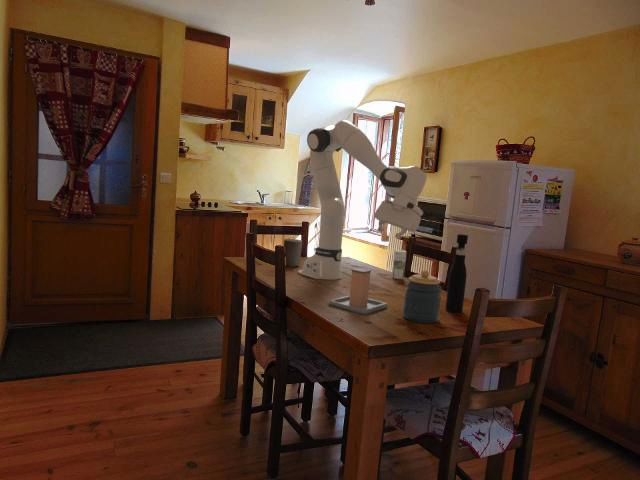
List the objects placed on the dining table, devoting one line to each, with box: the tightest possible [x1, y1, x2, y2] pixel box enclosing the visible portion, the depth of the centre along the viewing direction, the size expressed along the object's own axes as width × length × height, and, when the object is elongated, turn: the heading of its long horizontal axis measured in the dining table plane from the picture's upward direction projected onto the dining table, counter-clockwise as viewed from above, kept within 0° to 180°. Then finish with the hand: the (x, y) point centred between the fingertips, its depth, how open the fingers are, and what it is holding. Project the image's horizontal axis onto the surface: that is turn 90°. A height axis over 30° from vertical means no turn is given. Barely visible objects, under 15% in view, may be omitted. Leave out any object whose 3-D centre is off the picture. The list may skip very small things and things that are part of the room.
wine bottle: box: [445, 233, 469, 314], centre depth 184 cm, size 6×6×30 cm
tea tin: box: [349, 267, 372, 307], centre depth 180 cm, size 5×5×14 cm
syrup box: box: [391, 248, 407, 281], centre depth 240 cm, size 6×6×14 cm
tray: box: [328, 294, 388, 316], centre depth 181 cm, size 16×16×2 cm
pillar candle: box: [283, 238, 303, 268], centre depth 252 cm, size 10×10×15 cm
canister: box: [402, 269, 443, 324], centre depth 170 cm, size 13×13×18 cm
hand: (388, 234), depth 192 cm, fingers open, 8 cm apart
